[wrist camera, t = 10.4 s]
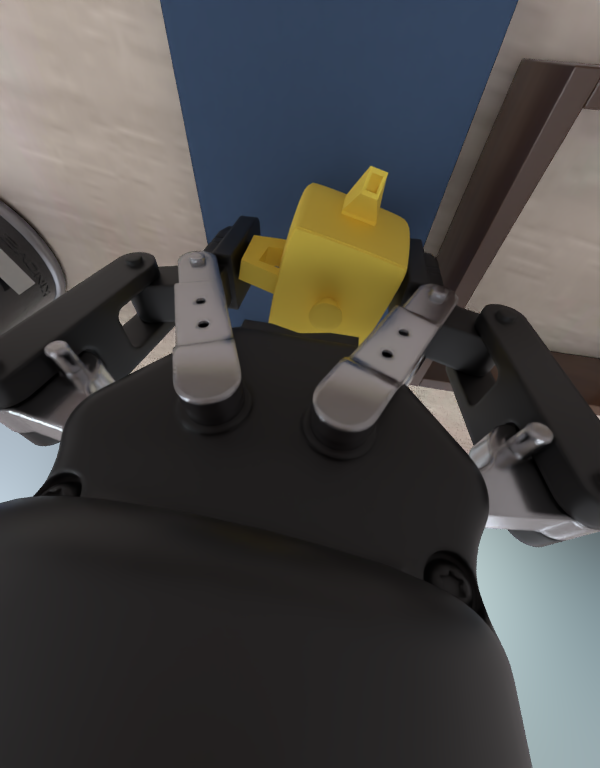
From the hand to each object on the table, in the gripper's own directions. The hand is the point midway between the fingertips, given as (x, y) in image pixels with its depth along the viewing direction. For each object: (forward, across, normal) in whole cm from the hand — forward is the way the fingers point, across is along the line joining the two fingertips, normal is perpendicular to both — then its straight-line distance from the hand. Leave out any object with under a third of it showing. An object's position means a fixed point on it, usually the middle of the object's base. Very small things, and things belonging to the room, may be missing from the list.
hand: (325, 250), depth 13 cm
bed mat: (+4, +1, +1) cm, 5 cm away
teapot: (+1, 0, 0) cm, 1 cm away
